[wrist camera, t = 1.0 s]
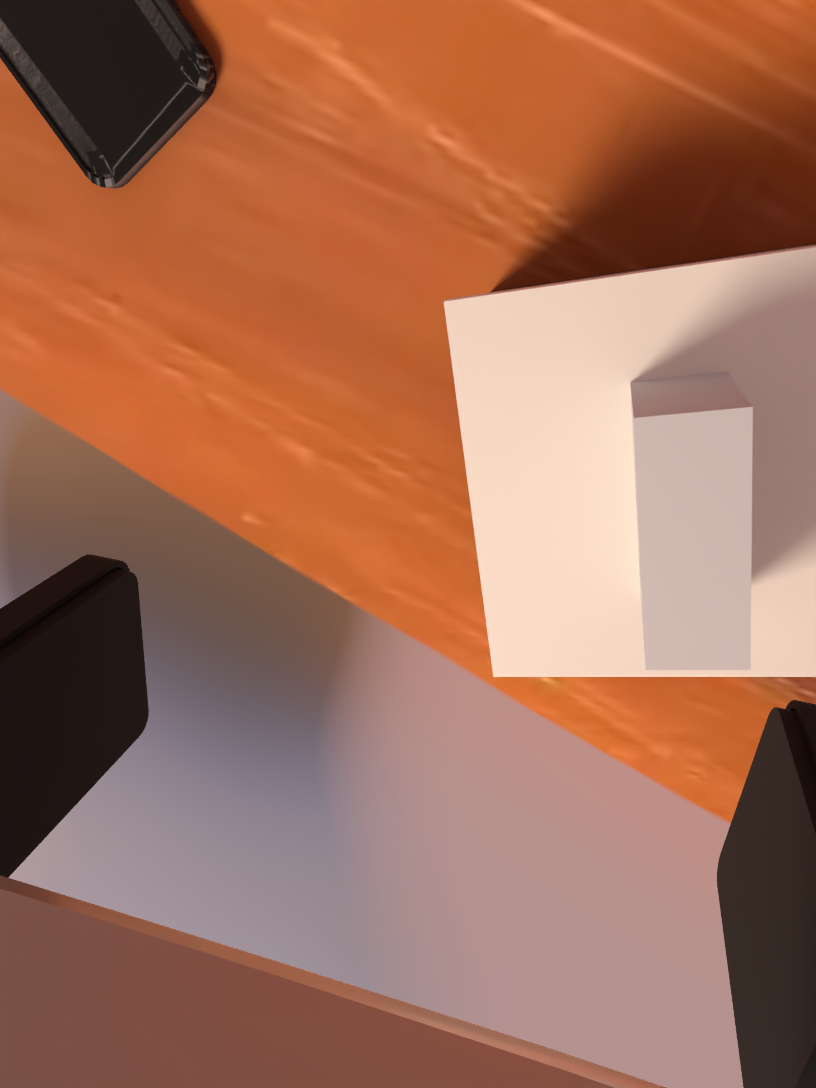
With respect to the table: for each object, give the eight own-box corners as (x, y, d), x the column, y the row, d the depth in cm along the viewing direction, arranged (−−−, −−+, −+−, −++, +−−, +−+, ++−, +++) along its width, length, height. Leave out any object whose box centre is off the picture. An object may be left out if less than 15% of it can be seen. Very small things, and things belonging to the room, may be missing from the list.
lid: (938, 227, 22) (1040, 229, 17) (898, 661, 28) (967, 768, 22) (449, 298, 26) (407, 319, 21) (496, 663, 32) (472, 754, 26)
